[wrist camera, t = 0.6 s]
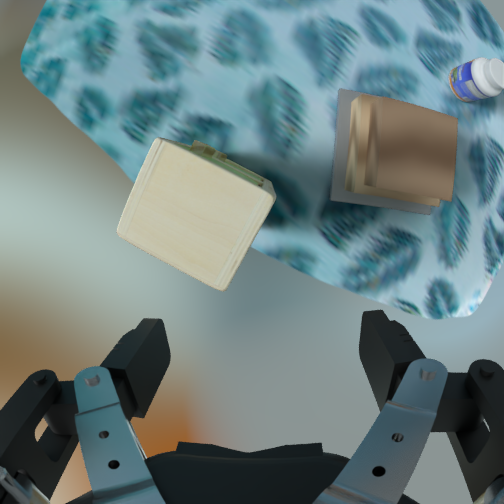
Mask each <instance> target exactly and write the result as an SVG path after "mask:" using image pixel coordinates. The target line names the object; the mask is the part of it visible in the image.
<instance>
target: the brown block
mask: <svg viewBox="0 0 504 504" xmlns="http://www.w3.org/2000/svg"><path fill="white" fill-rule="evenodd" d="M457 125H458V118H455V117H452V116H449V115H446V114H443V113H440V112H437V111H434V110H431V109H428V108H424V107H421V106H417V105H414V104H410V103H407V102H403V101H399V100H395V99H391V98H387V97H381V98H379V97H375V96H370V95H365V94H361V95H360V96H358V97H357V98H356V99H355V100H353V101H352V102H351V120H350V135H349V147H348V159H347V169H346V179H345V188H344V190H347V191H350V192H353V193H359V194H366V195H373V196H379V197H385V198H391V199H397V200H403V201H409V202H415V203H420V204H426V205H431V206H436V207H439V205H440V199H441V200H446V201H451V200H452V193H453V184H454V175H455V164H456V150H457Z"/></svg>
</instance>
